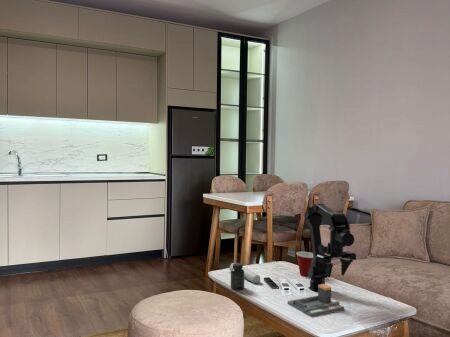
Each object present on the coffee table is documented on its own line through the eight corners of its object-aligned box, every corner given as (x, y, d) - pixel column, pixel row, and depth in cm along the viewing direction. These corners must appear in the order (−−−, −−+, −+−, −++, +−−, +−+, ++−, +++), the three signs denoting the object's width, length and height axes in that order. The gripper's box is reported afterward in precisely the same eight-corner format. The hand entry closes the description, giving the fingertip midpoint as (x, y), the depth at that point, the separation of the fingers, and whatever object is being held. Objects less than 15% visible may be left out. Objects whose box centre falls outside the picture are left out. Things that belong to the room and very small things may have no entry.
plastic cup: (311, 279, 219) (312, 256, 218) (292, 276, 224) (293, 254, 224) (318, 274, 228) (319, 252, 228) (300, 271, 234) (300, 250, 233)
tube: (263, 275, 211) (238, 263, 233) (255, 273, 208) (231, 261, 230) (260, 286, 210) (236, 273, 232) (252, 284, 208) (228, 271, 230)
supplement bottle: (229, 286, 205) (230, 262, 205) (243, 285, 206) (243, 262, 206) (231, 290, 199) (231, 266, 198) (245, 290, 199) (245, 265, 199)
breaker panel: (319, 298, 190) (319, 291, 190) (344, 309, 176) (344, 302, 176) (287, 303, 182) (287, 297, 182) (310, 316, 168) (310, 309, 167)
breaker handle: (323, 299, 184) (323, 283, 184) (330, 303, 179) (331, 287, 179) (318, 300, 182) (318, 284, 182) (325, 304, 178) (325, 288, 178)
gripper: (340, 236, 194) (339, 269, 195) (308, 239, 186) (307, 273, 187) (357, 241, 184) (356, 275, 185) (324, 244, 176) (323, 280, 177)
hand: (335, 276), depth 184 cm, fingers open, 8 cm apart
